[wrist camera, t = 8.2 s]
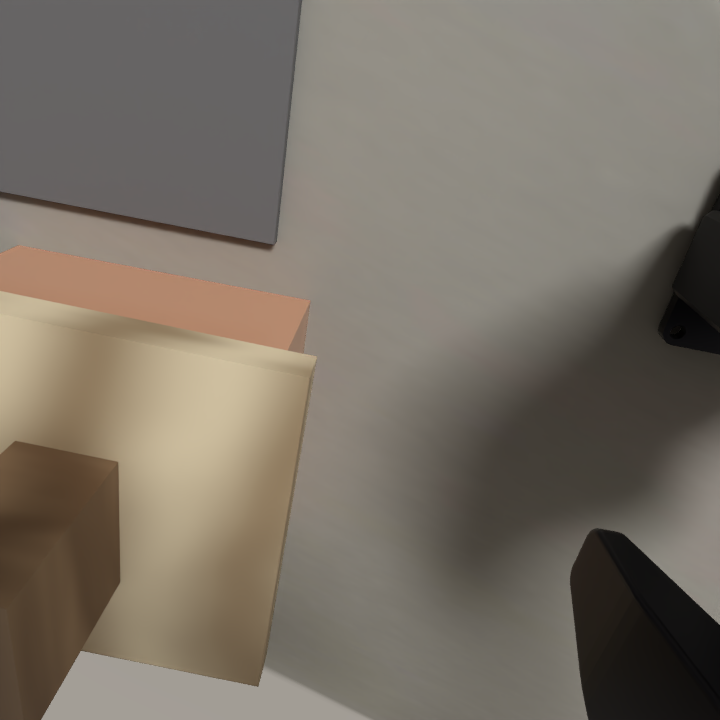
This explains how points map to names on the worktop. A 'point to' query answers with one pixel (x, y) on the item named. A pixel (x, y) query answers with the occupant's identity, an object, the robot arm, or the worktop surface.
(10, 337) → the lid
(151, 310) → the pink open tray
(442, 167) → the worktop surface
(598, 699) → the robot arm
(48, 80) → the mat
